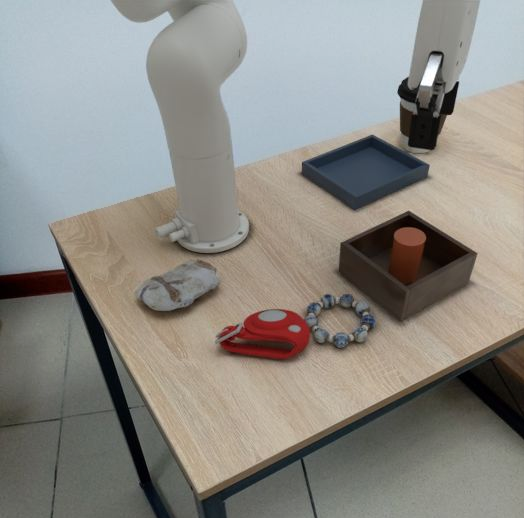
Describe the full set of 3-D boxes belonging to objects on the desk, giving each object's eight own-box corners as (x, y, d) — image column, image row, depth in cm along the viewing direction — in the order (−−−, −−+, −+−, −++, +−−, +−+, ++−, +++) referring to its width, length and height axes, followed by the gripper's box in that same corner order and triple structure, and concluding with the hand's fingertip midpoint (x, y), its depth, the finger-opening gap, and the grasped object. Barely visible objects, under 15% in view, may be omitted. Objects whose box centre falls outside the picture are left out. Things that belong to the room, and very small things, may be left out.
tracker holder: (270, 296, 77) (324, 314, 70) (272, 324, 79) (324, 344, 72) (205, 325, 69) (259, 348, 63) (209, 354, 72) (261, 379, 65)
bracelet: (317, 357, 70) (318, 346, 69) (293, 309, 76) (293, 299, 75) (385, 338, 72) (387, 328, 70) (356, 293, 78) (357, 283, 76)
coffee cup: (378, 146, 108) (386, 84, 99) (413, 128, 112) (423, 67, 103) (421, 165, 102) (433, 101, 93) (457, 145, 106) (471, 83, 97)
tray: (354, 209, 93) (355, 197, 91) (301, 174, 102) (301, 161, 100) (427, 177, 99) (429, 164, 97) (371, 146, 108) (372, 134, 106)
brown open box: (400, 321, 74) (406, 291, 70) (338, 271, 82) (340, 242, 78) (468, 283, 78) (477, 253, 74) (403, 239, 86) (408, 210, 82)
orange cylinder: (402, 288, 78) (409, 249, 72) (381, 273, 80) (387, 234, 75) (423, 276, 79) (432, 237, 74) (403, 261, 82) (410, 223, 76)
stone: (166, 329, 75) (161, 312, 73) (130, 299, 80) (124, 282, 77) (229, 288, 80) (227, 271, 78) (192, 262, 85) (189, 245, 82)
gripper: (441, -59, 59) (418, 98, 72) (400, -17, 49) (381, 157, 62) (512, -57, 57) (475, 104, 70) (484, -13, 47) (446, 168, 59)
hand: (431, 129), depth 66 cm, fingers open, 9 cm apart
